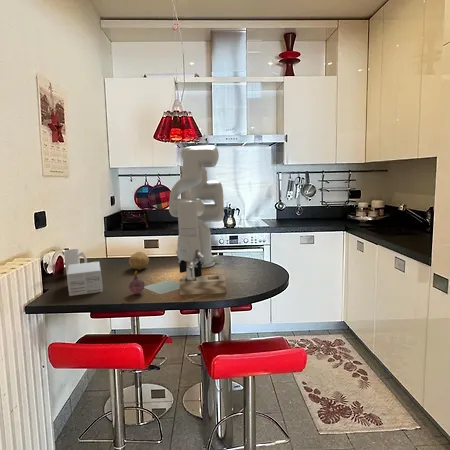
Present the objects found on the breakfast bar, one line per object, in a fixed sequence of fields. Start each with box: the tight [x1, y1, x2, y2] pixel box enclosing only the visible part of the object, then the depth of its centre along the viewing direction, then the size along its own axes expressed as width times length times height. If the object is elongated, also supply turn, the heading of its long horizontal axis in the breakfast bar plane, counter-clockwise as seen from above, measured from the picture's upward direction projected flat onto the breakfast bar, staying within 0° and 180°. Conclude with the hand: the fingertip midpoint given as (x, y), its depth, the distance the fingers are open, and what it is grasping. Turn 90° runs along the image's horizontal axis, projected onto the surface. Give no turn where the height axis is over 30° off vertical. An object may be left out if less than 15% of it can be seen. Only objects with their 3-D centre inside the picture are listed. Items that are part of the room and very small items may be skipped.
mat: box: [144, 279, 180, 295], centre depth 158 cm, size 14×14×1 cm
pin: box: [185, 265, 195, 281], centre depth 151 cm, size 3×3×10 cm
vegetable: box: [128, 270, 146, 295], centre depth 149 cm, size 6×6×10 cm
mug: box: [63, 248, 88, 275], centre depth 183 cm, size 10×7×12 cm, turn 98°
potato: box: [128, 251, 150, 271], centre depth 190 cm, size 10×14×8 cm
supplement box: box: [66, 261, 103, 297], centre depth 161 cm, size 17×13×9 cm
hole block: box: [179, 273, 227, 296], centre depth 152 cm, size 18×9×5 cm, turn 97°
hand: (190, 274), depth 151 cm, fingers open, 9 cm apart
